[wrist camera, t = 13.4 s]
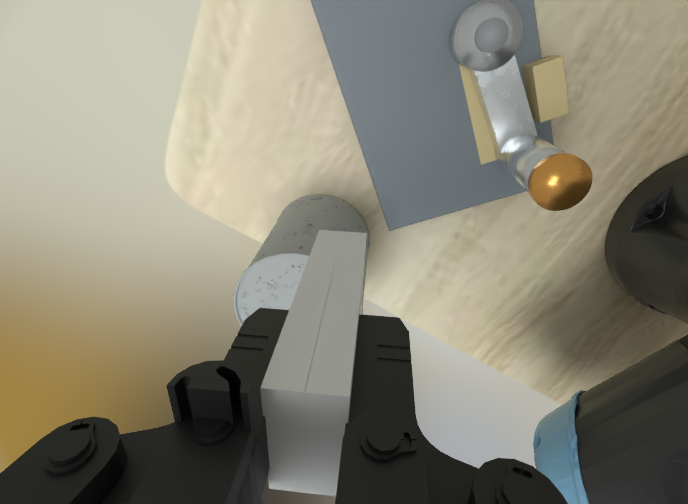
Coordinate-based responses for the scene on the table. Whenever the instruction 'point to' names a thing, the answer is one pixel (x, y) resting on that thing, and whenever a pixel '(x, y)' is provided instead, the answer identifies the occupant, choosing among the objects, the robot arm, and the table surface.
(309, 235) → the grey cylinder
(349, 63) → the plate
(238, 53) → the table surface
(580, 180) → the bar
